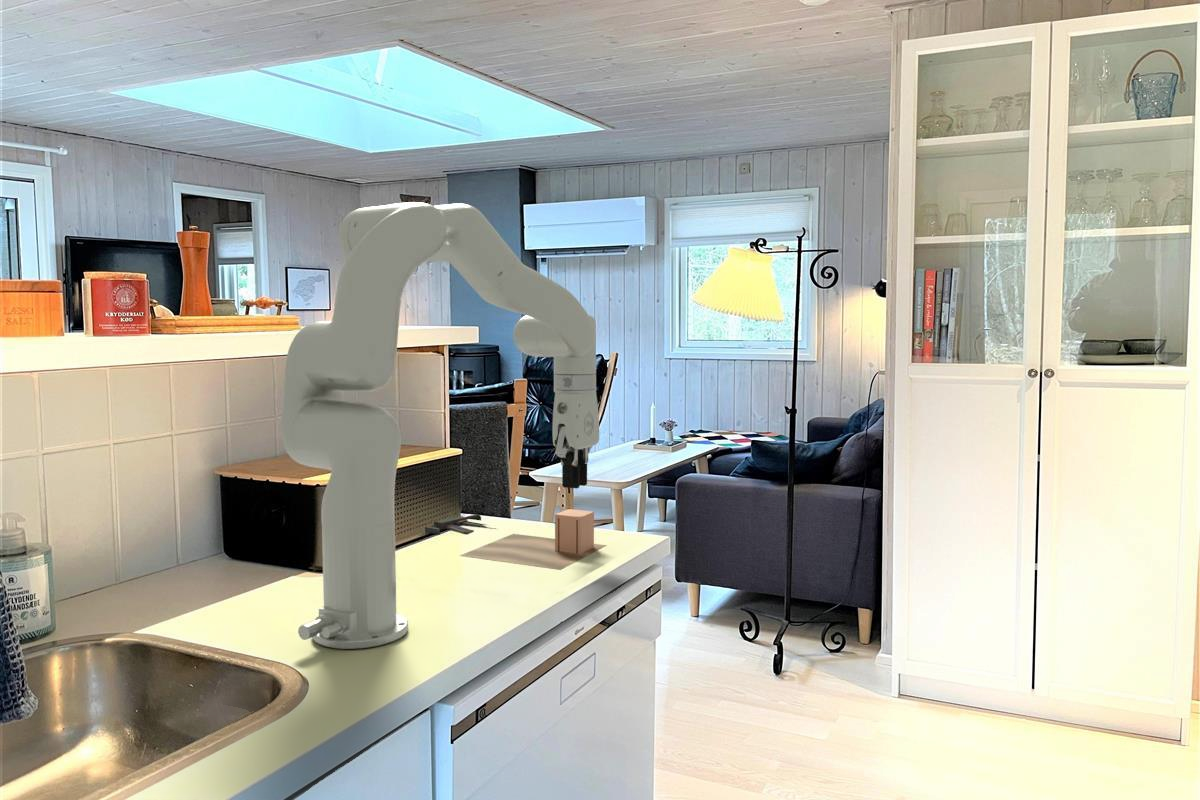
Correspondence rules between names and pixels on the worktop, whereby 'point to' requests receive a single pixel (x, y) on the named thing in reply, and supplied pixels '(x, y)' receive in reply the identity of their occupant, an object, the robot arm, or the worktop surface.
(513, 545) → the board
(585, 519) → the salmon pink block
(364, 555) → the robot arm
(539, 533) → the worktop surface
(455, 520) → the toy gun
